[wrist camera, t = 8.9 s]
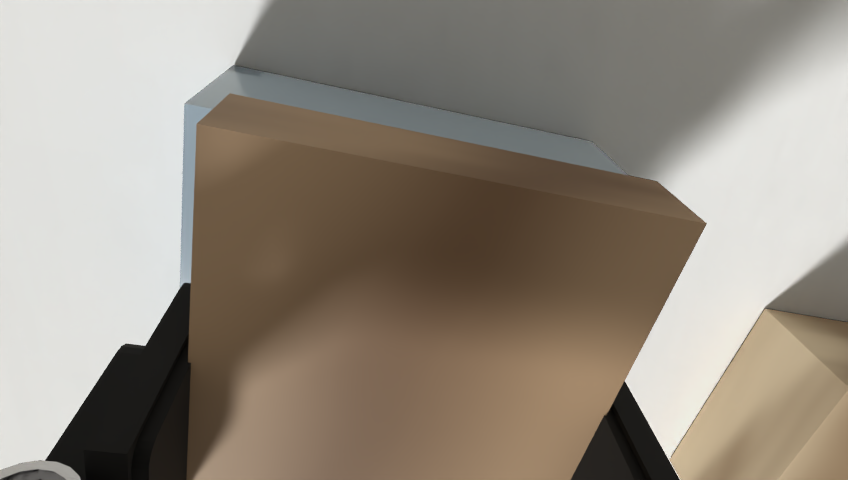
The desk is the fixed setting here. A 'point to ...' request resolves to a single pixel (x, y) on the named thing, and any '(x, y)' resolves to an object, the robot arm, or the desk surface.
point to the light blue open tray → (370, 111)
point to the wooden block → (775, 407)
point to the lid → (410, 300)
